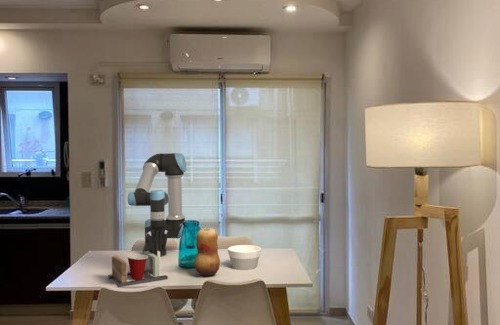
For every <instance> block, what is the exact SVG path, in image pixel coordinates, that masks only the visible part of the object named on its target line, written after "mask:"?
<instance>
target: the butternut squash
mask: <svg viewBox="0 0 500 325" xmlns="http://www.w3.org/2000/svg"><path fill="white" fill-rule="evenodd" d="M195 238H196V240H195V242H196V244H195V247H196V250H197V251H196V252H197V254H196V256H195V259H194V265H193V266H194V268H195V271H196V272H197V273H199V274H200V275H202V276H204V277H205V276H206V277H210V276H211V275H214V274H217V273H218V271H219V269H220V267H221V260H220V255H219V252H218V251H219V246H218V238H219V237H218V233H217V231H216V229H214V228H212V227H210V228H209V227H205V228H202V229H200V230H198V231H197V233H196V237H195Z"/></svg>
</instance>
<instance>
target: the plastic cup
mask: <svg viewBox="0 0 500 325" xmlns="http://www.w3.org/2000/svg"><path fill="white" fill-rule="evenodd" d="M126 258H127V261H128V262H127V263H128V268H129V272H130V273H131V276H130V277H131V280H132V281H133V280H139V279H144V275H145V274H144V270H145V264H146V260H147V258H148V256H146V255H142V254H139V253H138V254H136V253H134V254H133V253H132V254H127V255H126Z"/></svg>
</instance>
